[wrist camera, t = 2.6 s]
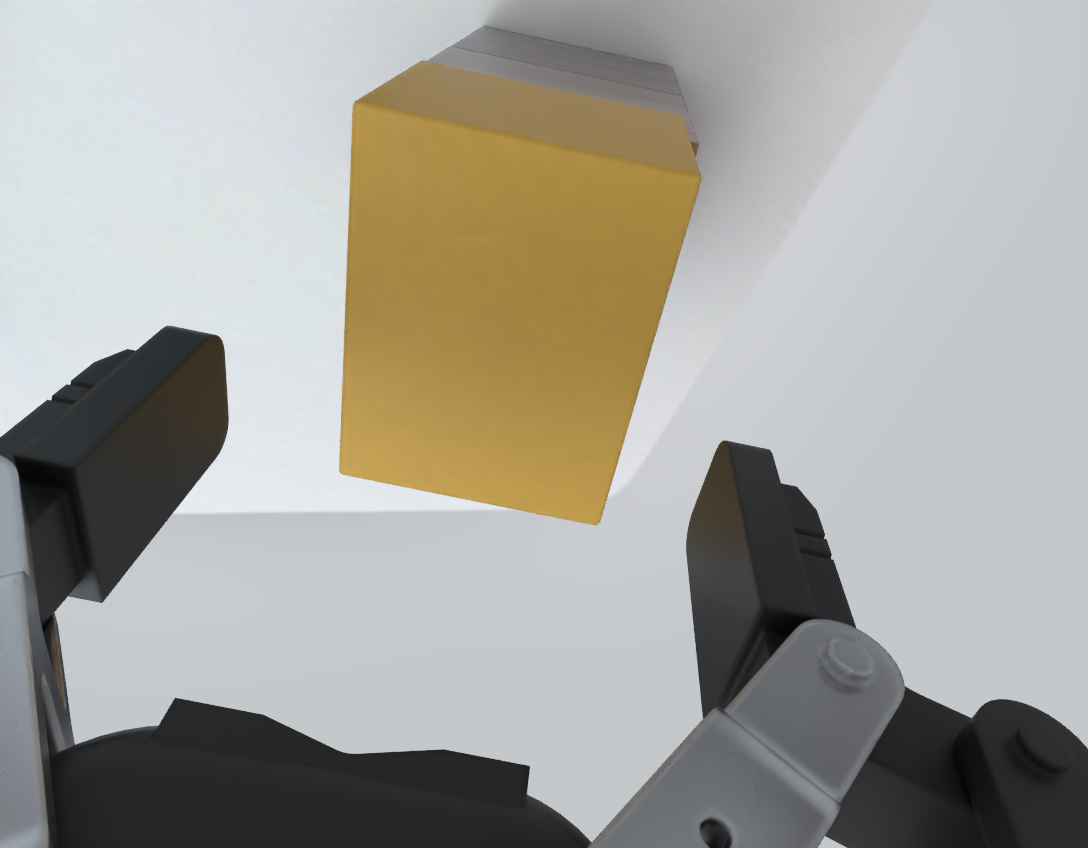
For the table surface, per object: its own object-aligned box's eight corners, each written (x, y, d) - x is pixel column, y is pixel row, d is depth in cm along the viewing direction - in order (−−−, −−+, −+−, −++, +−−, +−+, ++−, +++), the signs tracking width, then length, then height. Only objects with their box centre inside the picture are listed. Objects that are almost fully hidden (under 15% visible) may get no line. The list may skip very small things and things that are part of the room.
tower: (482, 25, 27) (396, 78, 17) (672, 66, 27) (699, 143, 17) (459, 214, 31) (378, 349, 21) (626, 249, 31) (625, 400, 21)
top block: (394, 368, 21) (337, 475, 17) (420, 59, 17) (351, 100, 12) (604, 411, 21) (598, 528, 17) (685, 116, 17) (703, 175, 13)
